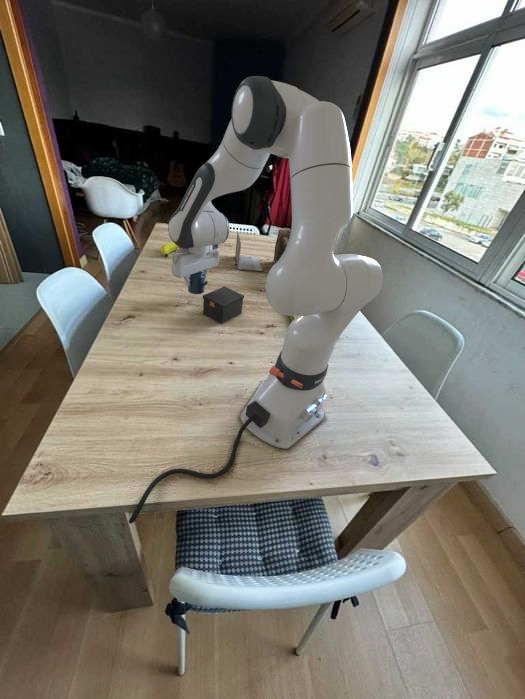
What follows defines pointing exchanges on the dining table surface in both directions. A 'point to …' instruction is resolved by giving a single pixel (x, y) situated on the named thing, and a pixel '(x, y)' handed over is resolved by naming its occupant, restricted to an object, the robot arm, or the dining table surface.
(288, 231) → the ornamental box
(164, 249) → the banana
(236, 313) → the black box
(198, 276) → the teapot
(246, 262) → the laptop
